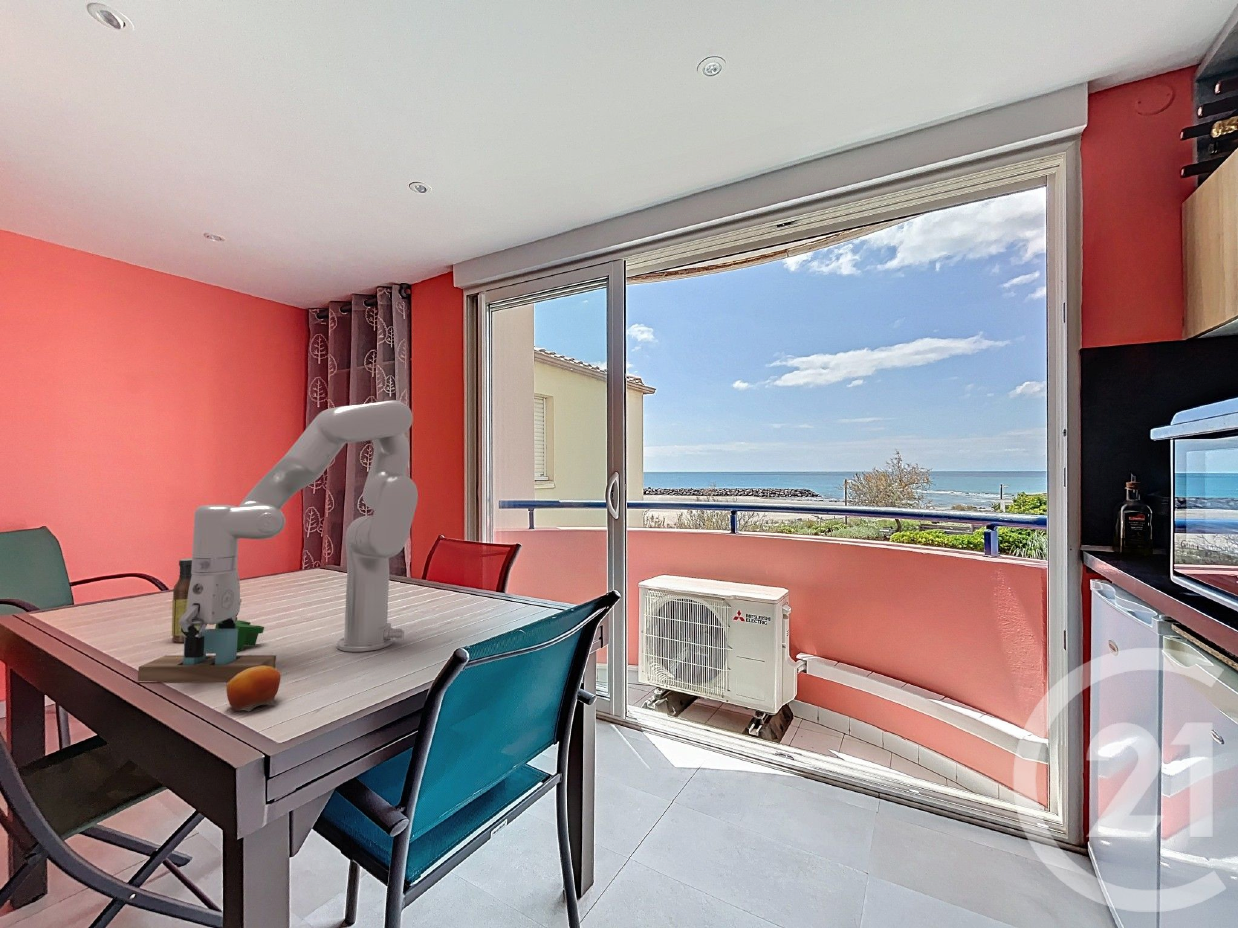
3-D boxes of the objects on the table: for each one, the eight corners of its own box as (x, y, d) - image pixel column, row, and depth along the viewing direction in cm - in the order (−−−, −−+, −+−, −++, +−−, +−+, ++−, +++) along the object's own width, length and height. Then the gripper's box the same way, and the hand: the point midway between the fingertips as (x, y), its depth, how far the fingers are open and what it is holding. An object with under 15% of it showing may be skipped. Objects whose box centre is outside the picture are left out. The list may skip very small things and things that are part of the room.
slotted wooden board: (164, 669, 112) (165, 655, 113) (275, 669, 114) (276, 655, 114) (137, 682, 106) (138, 666, 106) (256, 681, 107) (256, 666, 107)
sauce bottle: (209, 638, 135) (213, 558, 136) (182, 644, 129) (186, 561, 130) (191, 635, 137) (195, 556, 138) (163, 641, 131) (168, 559, 132)
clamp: (250, 665, 129) (269, 631, 129) (223, 665, 124) (242, 630, 124) (235, 636, 136) (252, 605, 136) (208, 636, 131) (226, 603, 131)
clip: (194, 672, 111) (197, 628, 112) (235, 672, 112) (237, 628, 113) (182, 678, 108) (184, 633, 108) (224, 678, 109) (227, 633, 109)
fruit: (244, 713, 90) (235, 666, 92) (224, 727, 93) (216, 682, 96) (295, 697, 97) (284, 654, 99) (274, 711, 100) (265, 669, 103)
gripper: (205, 572, 102) (201, 663, 102) (258, 559, 120) (254, 637, 119) (163, 572, 102) (158, 663, 101) (222, 558, 119) (218, 637, 118)
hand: (210, 649), depth 110 cm, fingers open, 9 cm apart
